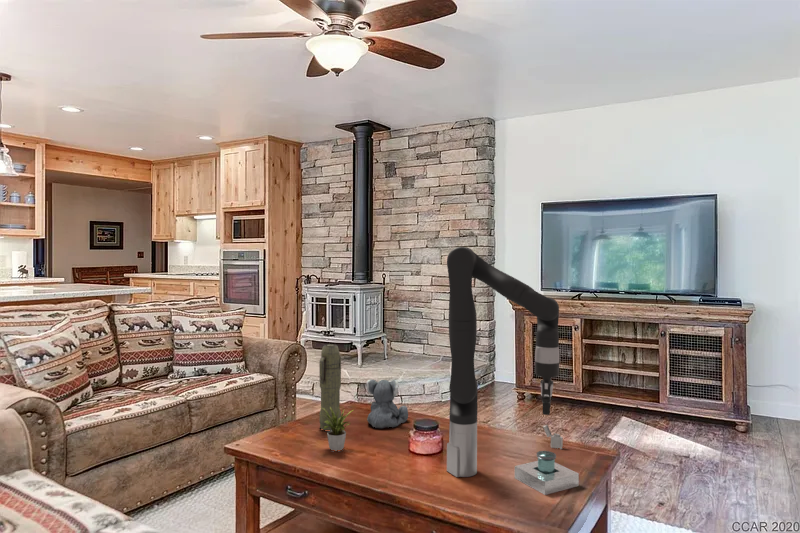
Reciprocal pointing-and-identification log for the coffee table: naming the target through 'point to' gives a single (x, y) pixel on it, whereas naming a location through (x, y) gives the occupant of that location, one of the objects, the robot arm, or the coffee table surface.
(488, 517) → the coffee table surface
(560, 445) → the lighter
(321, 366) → the thermos
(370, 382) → the koala plush
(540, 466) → the cover plug
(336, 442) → the house plant
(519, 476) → the bore housing
